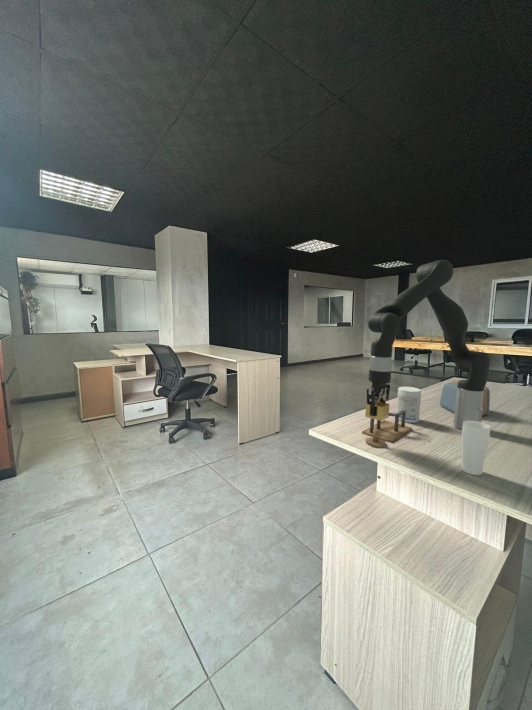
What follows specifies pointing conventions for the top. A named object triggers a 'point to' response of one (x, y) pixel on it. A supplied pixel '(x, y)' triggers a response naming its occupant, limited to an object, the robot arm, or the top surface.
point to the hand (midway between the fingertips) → (377, 413)
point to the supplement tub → (409, 403)
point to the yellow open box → (378, 411)
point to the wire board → (389, 427)
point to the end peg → (375, 440)
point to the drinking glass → (474, 446)
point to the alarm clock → (450, 397)
